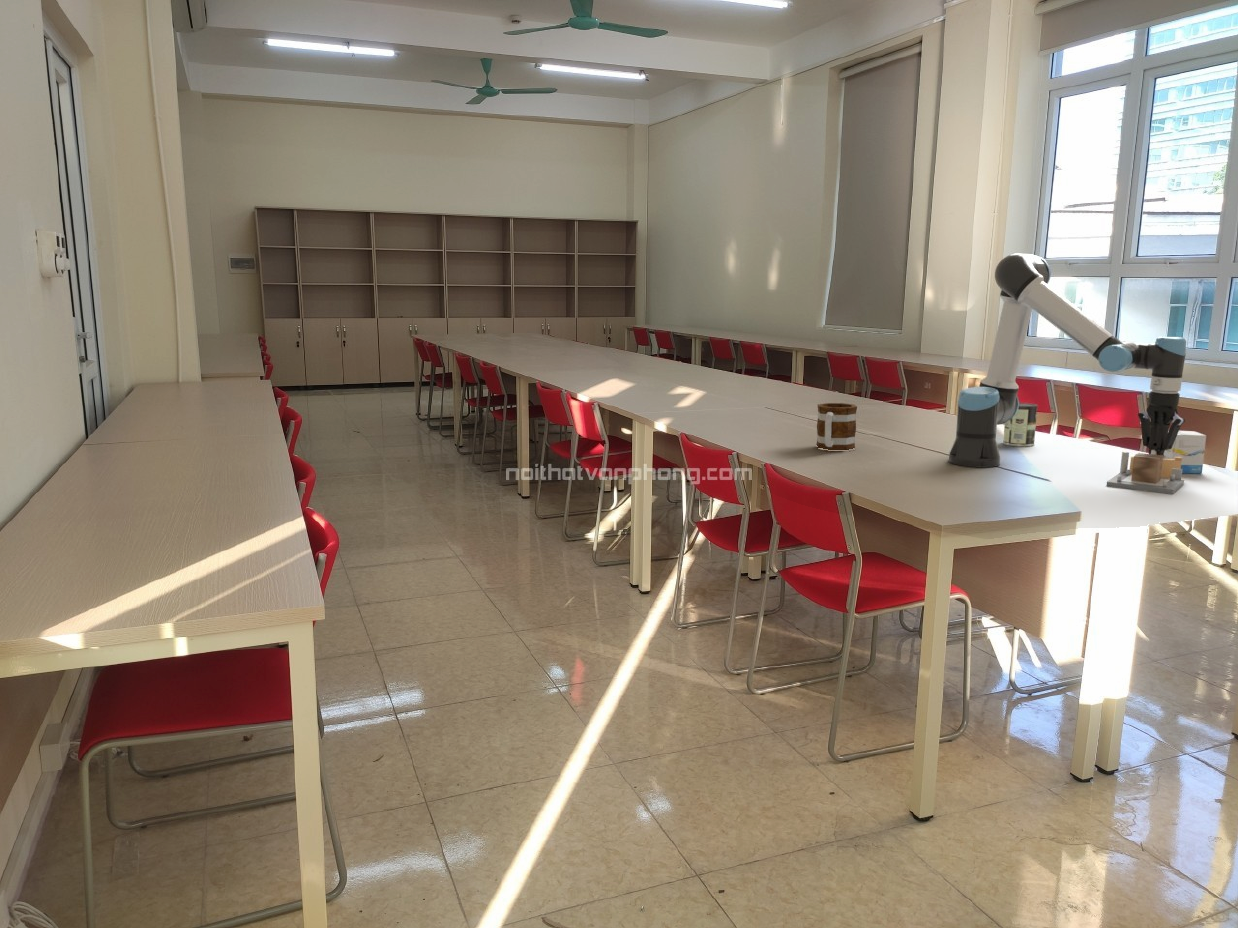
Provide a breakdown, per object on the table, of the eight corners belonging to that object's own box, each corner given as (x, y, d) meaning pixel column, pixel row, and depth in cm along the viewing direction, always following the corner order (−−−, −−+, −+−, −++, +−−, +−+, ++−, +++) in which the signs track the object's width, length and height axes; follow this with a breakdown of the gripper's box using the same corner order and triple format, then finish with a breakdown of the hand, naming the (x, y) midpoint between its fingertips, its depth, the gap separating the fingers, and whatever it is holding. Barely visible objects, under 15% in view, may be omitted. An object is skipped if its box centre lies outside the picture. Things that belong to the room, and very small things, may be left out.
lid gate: (1129, 475, 260) (1131, 454, 259) (1128, 474, 262) (1131, 453, 260) (1179, 479, 255) (1182, 458, 253) (1178, 478, 256) (1181, 457, 255)
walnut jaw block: (1131, 480, 249) (1133, 455, 248) (1135, 477, 254) (1138, 452, 252) (1155, 483, 245) (1158, 458, 244) (1160, 480, 250) (1163, 455, 248)
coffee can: (1026, 441, 319) (1029, 402, 317) (1039, 446, 309) (1043, 406, 307) (997, 441, 320) (1000, 402, 317) (1009, 446, 309) (1012, 406, 307)
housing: (1104, 485, 249) (1107, 461, 248) (1120, 474, 263) (1122, 451, 261) (1172, 494, 238) (1175, 468, 237) (1185, 482, 252) (1188, 458, 251)
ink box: (1202, 474, 264) (1207, 435, 261) (1170, 473, 265) (1175, 434, 263) (1190, 468, 272) (1195, 430, 270) (1159, 467, 274) (1164, 429, 271)
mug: (820, 444, 317) (822, 402, 314) (859, 446, 311) (861, 404, 308) (806, 453, 300) (808, 409, 297) (847, 456, 294) (849, 411, 291)
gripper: (1135, 389, 259) (1124, 468, 264) (1177, 395, 248) (1165, 477, 253) (1152, 388, 262) (1142, 466, 267) (1195, 393, 251) (1183, 475, 256)
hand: (1153, 471), depth 260 cm, fingers closed
